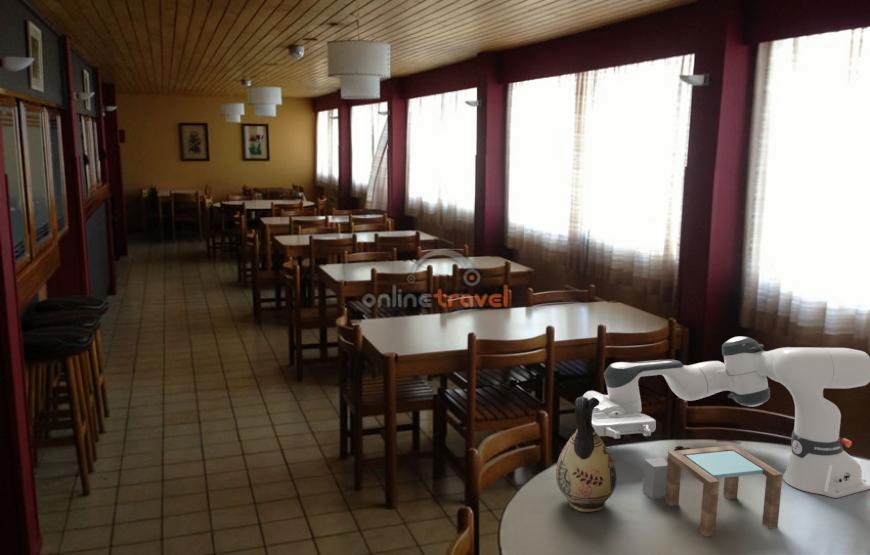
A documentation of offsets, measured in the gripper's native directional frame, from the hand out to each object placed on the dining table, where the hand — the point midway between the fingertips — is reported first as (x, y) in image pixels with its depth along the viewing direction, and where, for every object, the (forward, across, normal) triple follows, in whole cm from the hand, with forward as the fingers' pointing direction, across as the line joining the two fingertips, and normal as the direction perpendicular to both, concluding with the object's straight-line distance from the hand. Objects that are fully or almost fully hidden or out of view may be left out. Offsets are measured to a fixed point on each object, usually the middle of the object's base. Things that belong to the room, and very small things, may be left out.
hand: (633, 434), depth 208 cm
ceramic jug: (+14, +21, -12) cm, 29 cm away
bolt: (-1, -21, -12) cm, 24 cm away
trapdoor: (+26, -11, +1) cm, 29 cm away
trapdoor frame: (+26, -11, -12) cm, 31 cm away
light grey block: (+12, -1, -12) cm, 17 cm away
